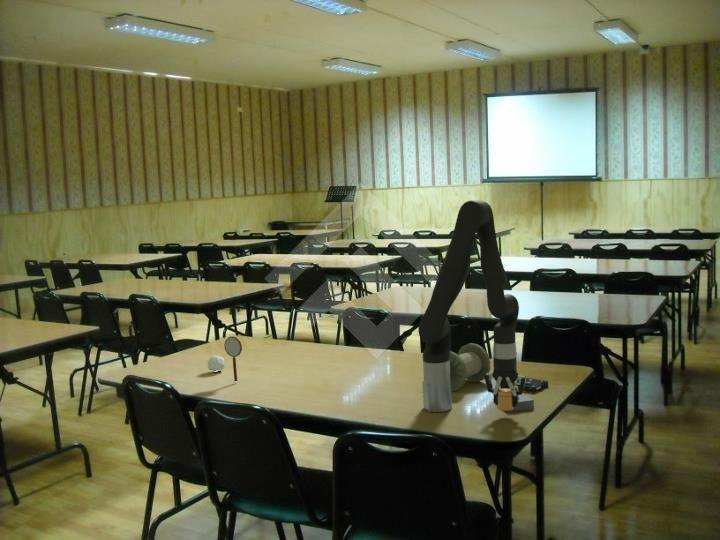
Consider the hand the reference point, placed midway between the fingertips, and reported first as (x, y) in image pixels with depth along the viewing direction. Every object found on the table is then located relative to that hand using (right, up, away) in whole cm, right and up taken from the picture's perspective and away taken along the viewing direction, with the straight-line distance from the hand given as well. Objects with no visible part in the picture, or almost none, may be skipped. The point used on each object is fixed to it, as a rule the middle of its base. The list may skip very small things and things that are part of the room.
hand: (505, 405), depth 246 cm
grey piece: (+6, -2, +11) cm, 12 cm away
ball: (-113, -1, +87) cm, 142 cm away
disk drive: (+14, 0, +34) cm, 37 cm away
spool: (-9, 0, +41) cm, 42 cm away
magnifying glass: (-100, -3, +66) cm, 120 cm away
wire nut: (0, -1, 0) cm, 1 cm away
